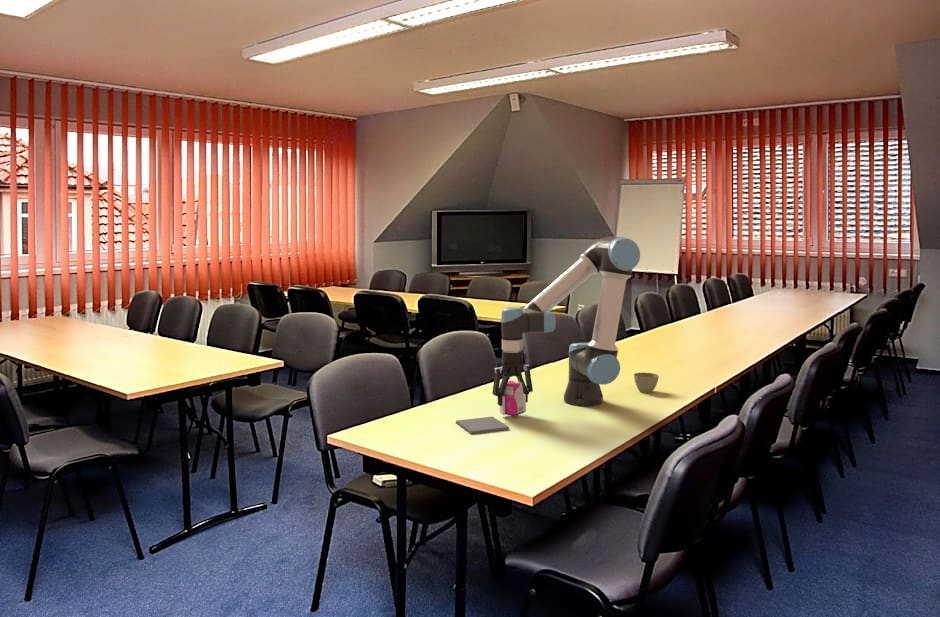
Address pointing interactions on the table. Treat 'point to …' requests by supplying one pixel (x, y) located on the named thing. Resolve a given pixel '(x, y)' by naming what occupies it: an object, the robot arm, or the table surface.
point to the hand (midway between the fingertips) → (512, 412)
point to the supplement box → (513, 398)
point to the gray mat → (482, 425)
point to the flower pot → (646, 381)
